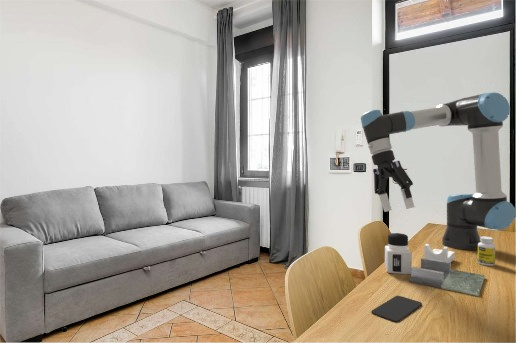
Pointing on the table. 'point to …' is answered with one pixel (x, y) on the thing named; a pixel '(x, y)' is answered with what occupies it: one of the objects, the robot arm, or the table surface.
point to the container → (398, 254)
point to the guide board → (446, 277)
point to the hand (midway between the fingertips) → (398, 209)
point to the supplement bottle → (486, 251)
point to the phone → (396, 308)
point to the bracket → (439, 254)
